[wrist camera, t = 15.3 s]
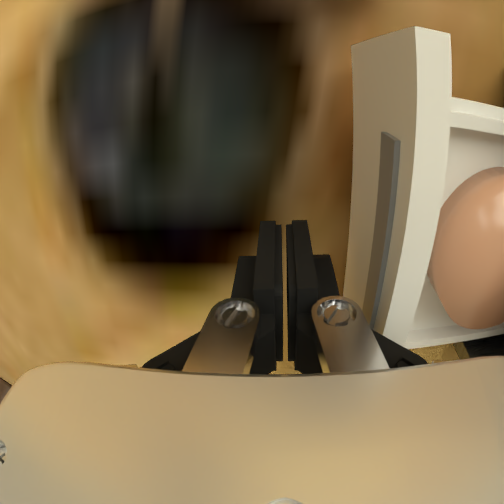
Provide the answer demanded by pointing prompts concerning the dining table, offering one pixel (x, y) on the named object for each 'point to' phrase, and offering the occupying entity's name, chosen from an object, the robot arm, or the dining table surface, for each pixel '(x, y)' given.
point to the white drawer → (410, 180)
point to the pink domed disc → (471, 251)
